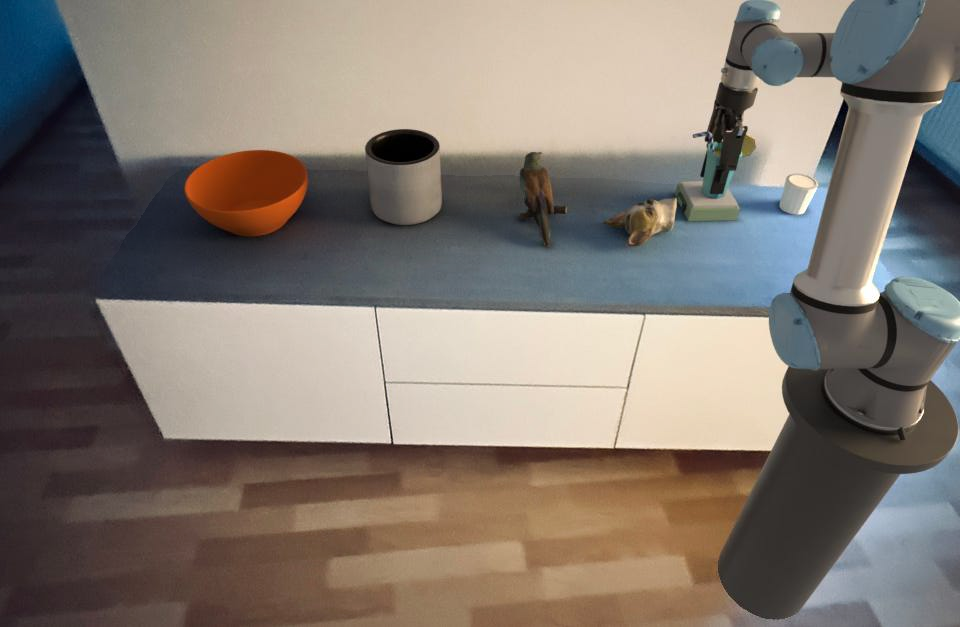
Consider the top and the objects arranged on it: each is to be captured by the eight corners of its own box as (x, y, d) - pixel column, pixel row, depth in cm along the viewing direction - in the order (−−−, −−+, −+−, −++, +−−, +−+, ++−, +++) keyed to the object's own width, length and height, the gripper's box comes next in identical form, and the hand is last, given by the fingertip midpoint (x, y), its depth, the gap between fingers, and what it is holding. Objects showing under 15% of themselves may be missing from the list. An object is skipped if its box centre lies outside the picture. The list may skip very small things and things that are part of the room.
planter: (456, 209, 152) (456, 147, 142) (400, 237, 144) (394, 173, 134) (413, 181, 161) (409, 120, 150) (357, 206, 153) (349, 143, 142)
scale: (736, 220, 150) (741, 205, 148) (684, 221, 150) (688, 206, 147) (721, 193, 158) (725, 179, 156) (671, 194, 158) (675, 180, 155)
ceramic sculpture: (693, 204, 139) (631, 224, 135) (686, 238, 144) (626, 258, 140) (662, 179, 146) (602, 198, 142) (657, 212, 152) (599, 231, 148)
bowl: (336, 221, 148) (330, 181, 142) (230, 268, 136) (218, 227, 129) (278, 176, 162) (270, 138, 155) (177, 215, 149) (163, 175, 143)
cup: (684, 203, 148) (700, 140, 138) (673, 184, 154) (687, 123, 144) (745, 200, 149) (765, 138, 139) (732, 181, 155) (750, 120, 145)
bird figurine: (575, 245, 141) (571, 147, 137) (528, 248, 140) (523, 150, 137) (561, 240, 154) (557, 150, 150) (518, 243, 153) (513, 153, 150)
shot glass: (800, 199, 157) (810, 172, 152) (813, 215, 152) (824, 188, 147) (771, 199, 157) (781, 173, 152) (783, 216, 151) (793, 189, 147)
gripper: (706, 65, 142) (682, 162, 157) (736, 106, 127) (707, 209, 143) (741, 64, 142) (714, 162, 157) (775, 105, 128) (742, 208, 143)
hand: (711, 184), depth 150 cm, fingers closed on cup, 6 cm apart
